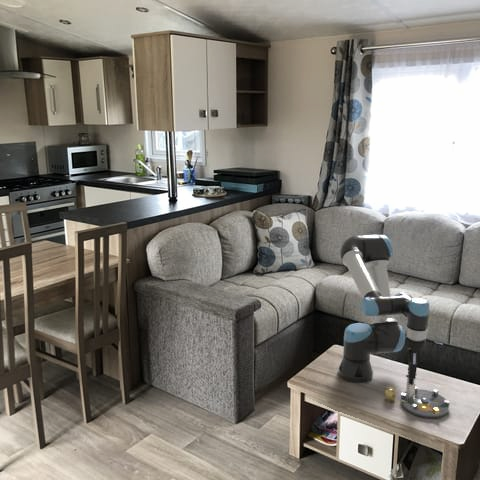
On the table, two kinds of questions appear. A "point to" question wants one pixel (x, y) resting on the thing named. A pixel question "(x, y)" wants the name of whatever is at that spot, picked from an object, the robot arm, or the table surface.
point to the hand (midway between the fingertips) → (409, 390)
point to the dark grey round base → (424, 402)
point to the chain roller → (390, 394)
